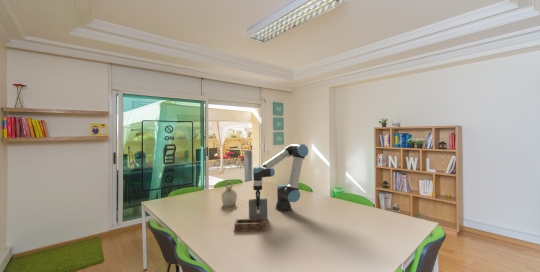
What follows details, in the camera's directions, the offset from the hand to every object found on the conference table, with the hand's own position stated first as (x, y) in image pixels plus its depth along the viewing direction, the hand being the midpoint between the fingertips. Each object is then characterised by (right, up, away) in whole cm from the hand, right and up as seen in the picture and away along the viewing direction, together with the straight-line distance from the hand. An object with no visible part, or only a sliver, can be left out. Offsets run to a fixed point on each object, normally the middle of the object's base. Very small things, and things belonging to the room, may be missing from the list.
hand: (258, 212), depth 199 cm
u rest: (-5, -7, -17) cm, 19 cm away
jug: (-32, -7, +42) cm, 53 cm away
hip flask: (0, -7, 0) cm, 7 cm away
